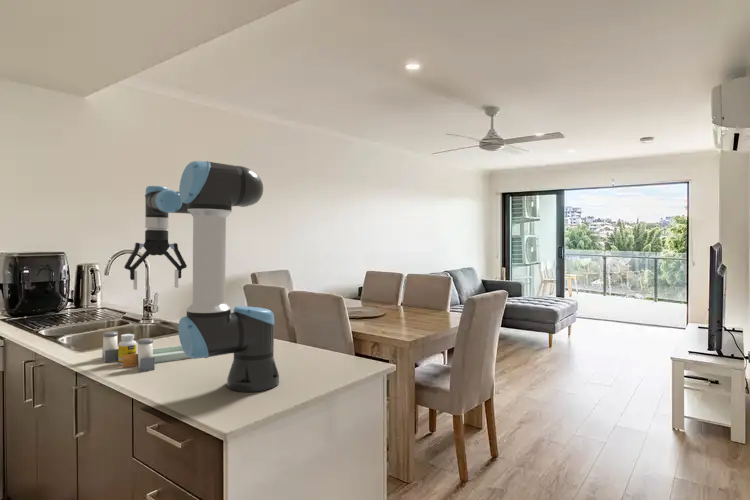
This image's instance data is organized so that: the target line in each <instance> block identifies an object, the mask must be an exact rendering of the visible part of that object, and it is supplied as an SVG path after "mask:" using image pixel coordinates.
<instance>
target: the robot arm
mask: <svg viewBox="0 0 750 500" xmlns="http://www.w3.org/2000/svg"><path fill="white" fill-rule="evenodd" d="M263 193H264V184H263V181H262V179H261V178H260V176H259V175H258V174H257V173H256V171H254V170H252V169H251V168H249V167H246V166H242V165H233V164H225V163H220V162H214V161H208V160H207V161H203V160H202V161H200V160H199V161H197V160H194V161H190V162H189V163H188V164H187V165H186V166H185V168H184V169H183V171H182V174H181V177H180V181H179V188H178V190H177V191H176V190H174V189H169V188H168V187H167V186H160V185H149V186H148V185H147V187H146V188H145V194H144V198H145V206H144V207H145V213H144V214H145V215H144V216H145V219H144V220H145V223H144V225H145V226H144V227H145V231H144V243H140V242H135V243H134V248H133V250H132V252H131V254H130V256H129V257H128V259H127V261H126V262H125V265H124V269H126V270H128V271H129V279H130V280H131V281H133V285H132V286H133V290H135V291H136V290H138V271H137V270H136V269H137V268H138V267H139V266H140V265H141V264H142V263H143V262H144V261H145V260H146V259H147V257H149V256H165V257H166V258H167V260H169V261H170V263H171V264H172V265H173V266H174V267H175V268H176V269H174V283H173V284H174V288H175V289H178V288H179V279H182V270H184V269H186V268H188V267H187V265H188V264H186V262H185V260H184V258H183V256H182V254H181V252H180V250H179V245H178V243H176V242H173V243H170V242H169V231H168V229H169V214H189V215H191V216H192V303H191V305H189V306H188V307H187V308H186V316H183V317H181V318H180V319H179V321H178V326H177V327H178V328H177V329H178V338H179V342H180V345H181V346H182V348H183V350H184V352H185V354H186V355H187V356H188V357H190V358H189V359H193V360H196V359H197V360H198V359H208V358H210V357H218V356H222V355H223V356H224V355H230V354H233V359H232V360H233V361H232V363H231V365H230V366H231V367H230V369H229V372H228V376H227V378H226V380H227V381H226V385H227V387H226V388H228V389H229V390H231V391H234V392H242V393H243V392H244V393H253V392H254V393H255V392H263V391H267V389H268V390H270V388H271V389H273V388H275V387H277V386H278V385H279V384H280V373H279V371H278V368H277V364H276V361H275V358H274V354H275V353H274V351H275V349H274V347H275V346H274V345H275V340H274V339H275V325H276V324H275V315H274V312H273V311H272V310H270V309H268V308H265V307H256V306H247V305H246V306H245V305H244V306H243V305H239V306H234V308H233V310H232V311H233V312H231V309H232V308H231V307H230V306H229V304H227V302H226V258H227V257H226V256H227V255H226V253H227V251H226V249H227V248H226V245H227V244H226V243H227V242H226V240H227V239H226V238H227V235H226V233H227V232H226V231H227V229H226V228H227V227H226V226H227V225H226V224H227V223H226V222H227V217H228V216H229V215H230V214H231V213H232V208H234V207H241V208H245V207H249V206H253V205H255V204H257V203H258V202H259V201H260V200H261V198H262V196H263V195H264V194H263ZM142 248H144V249H145V251H144V252H143V254H142V255H141V256H140V257H139V258H138V259H137V260H136V261H135V262H134V263H133V261H134V260H135V258H136V256H137V254H138V253H139V251H140V250H142ZM170 248H171V250H173V252H174V255H175V256H176V258H177V260H178V262H179V263H178V262H177V260H175V259H174V257H173V256H172V255H171V254H170V252H169V251H168V250H169V249H170ZM276 385H277V386H276Z"/></svg>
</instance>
